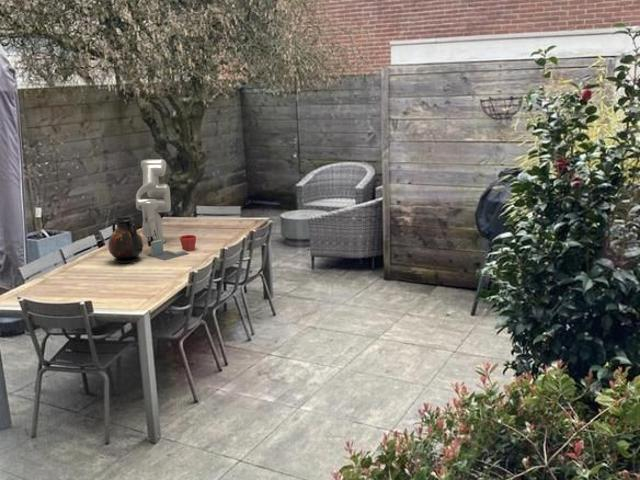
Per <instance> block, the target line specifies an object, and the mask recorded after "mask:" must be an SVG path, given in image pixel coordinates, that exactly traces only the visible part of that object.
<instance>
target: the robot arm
mask: <svg viewBox="0 0 640 480" xmlns="http://www.w3.org/2000/svg"><path fill="white" fill-rule="evenodd" d="M140 167H141V171H142V185H141V186H140V187H139V189H138V190H137V192H136V195H135V208H136V210H138V211H142V228H141V229H142V235H143V236H144V237H145V238H146V240H147V245H148V247H149V248H151V242H153V241H158V240H163V244H164V243H166V239H165V238H164V234H163V222H162V221H163V220H162V217H161V215H160V214H159V213H169V212H170V211H171V210H172V203H171V190H170V189H171V188H170V186H169V185H168V184H167V183H160V182H159V181H160V180H159V177H164V176H165V175H166V170H167V162H166V160H165V159H159V158H158V159H143V160H141V162H140ZM145 193H147V196H148V197H149V198H142V196H143V195H144V194H145Z"/></svg>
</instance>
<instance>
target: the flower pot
mask: <svg viewBox="0 0 640 480" xmlns="http://www.w3.org/2000/svg"><path fill="white" fill-rule="evenodd" d="M179 240H180V245H181V247H182V248H181V249H182V250H185V252H191V251H194V250H195V247H196V240H197V236H196V235H193V234H186V235H181V236H179Z"/></svg>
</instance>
